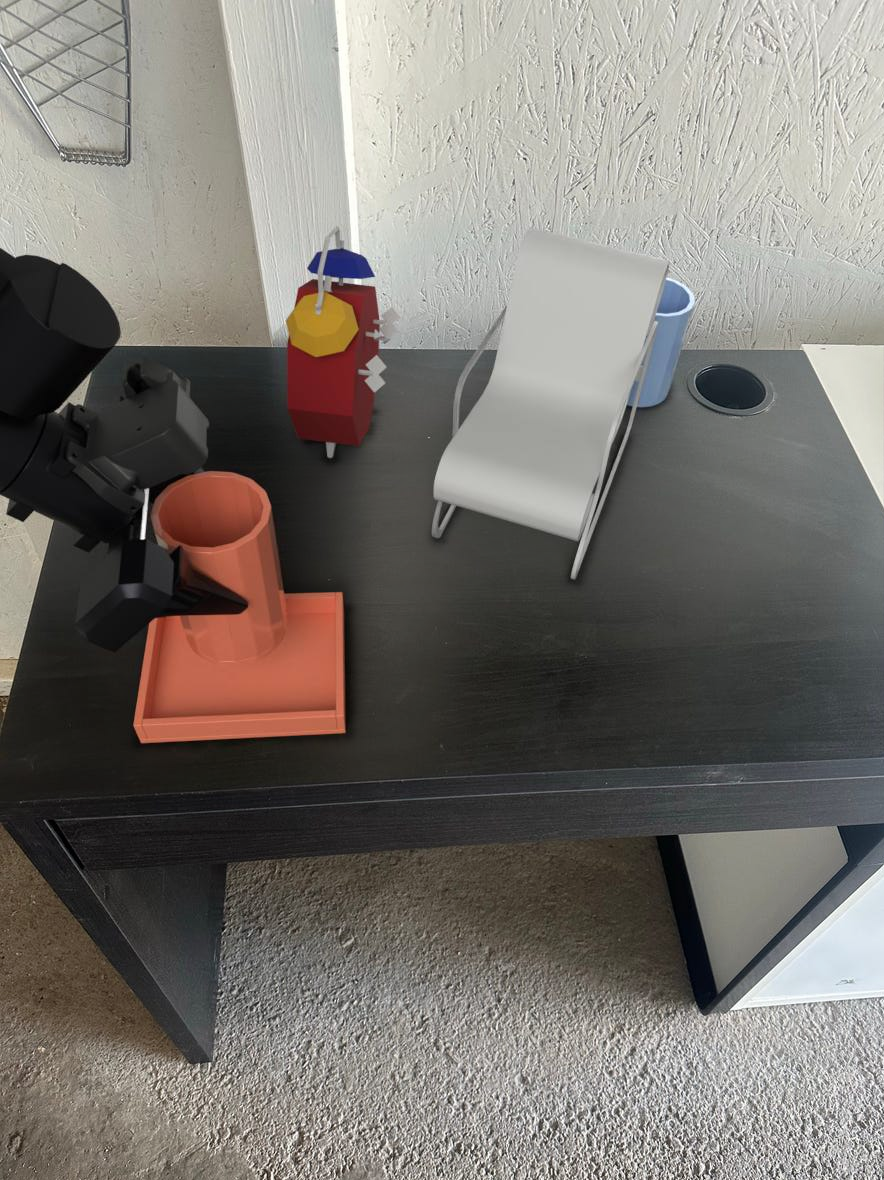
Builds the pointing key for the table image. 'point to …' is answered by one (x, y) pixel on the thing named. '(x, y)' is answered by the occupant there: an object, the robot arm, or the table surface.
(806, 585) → the table surface
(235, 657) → the coral cup
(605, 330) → the chair
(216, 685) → the coral tray
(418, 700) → the table surface
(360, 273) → the alarm clock
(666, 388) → the blue cup
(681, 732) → the table surface
